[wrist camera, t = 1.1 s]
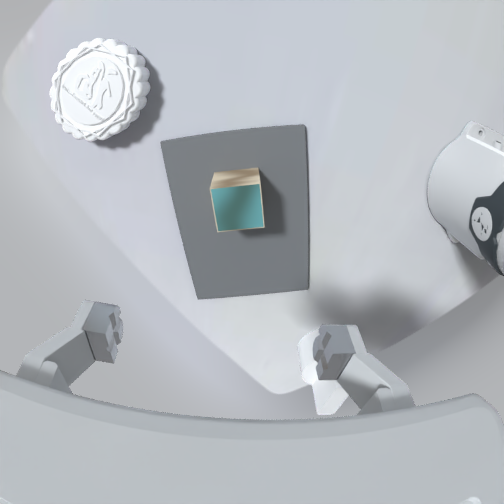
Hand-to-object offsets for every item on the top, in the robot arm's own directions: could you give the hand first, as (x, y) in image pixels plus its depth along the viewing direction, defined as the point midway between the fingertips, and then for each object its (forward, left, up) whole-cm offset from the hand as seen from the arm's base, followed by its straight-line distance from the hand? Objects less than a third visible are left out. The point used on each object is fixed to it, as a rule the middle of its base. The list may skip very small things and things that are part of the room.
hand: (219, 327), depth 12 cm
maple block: (0, +4, -25) cm, 25 cm away
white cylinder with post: (-11, +34, -26) cm, 44 cm away
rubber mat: (0, +9, -26) cm, 27 cm away
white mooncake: (+14, -11, -26) cm, 32 cm away
